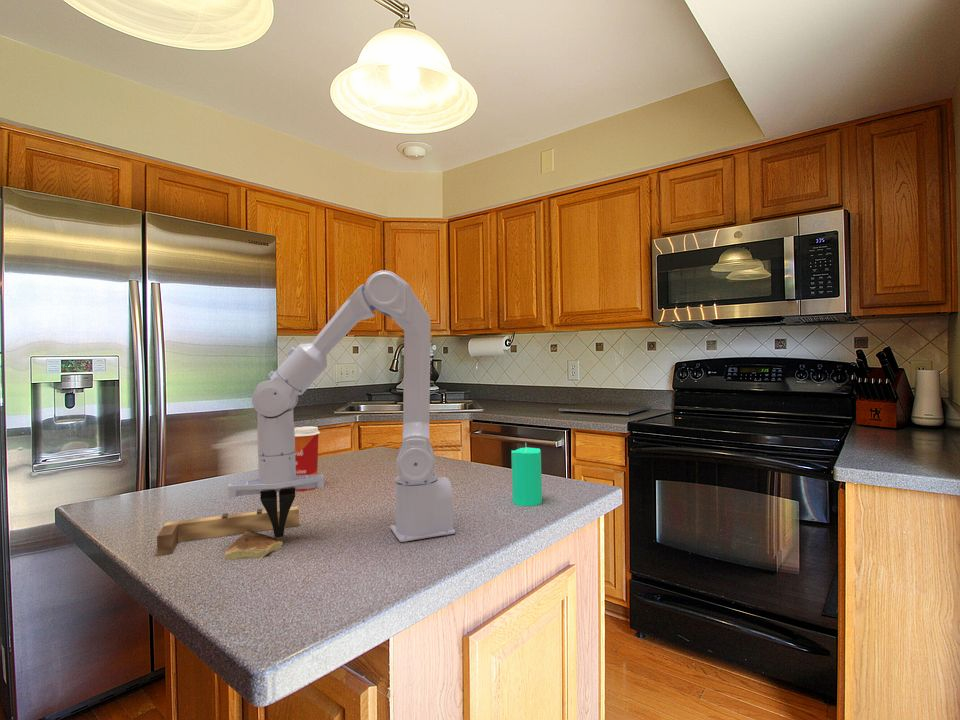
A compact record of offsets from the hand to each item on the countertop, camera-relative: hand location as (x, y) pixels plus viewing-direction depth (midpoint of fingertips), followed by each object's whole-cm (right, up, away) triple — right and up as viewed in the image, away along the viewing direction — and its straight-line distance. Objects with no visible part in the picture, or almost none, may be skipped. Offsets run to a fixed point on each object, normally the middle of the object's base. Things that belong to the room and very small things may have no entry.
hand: (279, 535), depth 85 cm
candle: (+43, 0, +19) cm, 47 cm away
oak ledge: (-9, -1, +2) cm, 9 cm away
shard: (-4, -2, -3) cm, 5 cm away
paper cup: (-8, -1, +36) cm, 36 cm away
